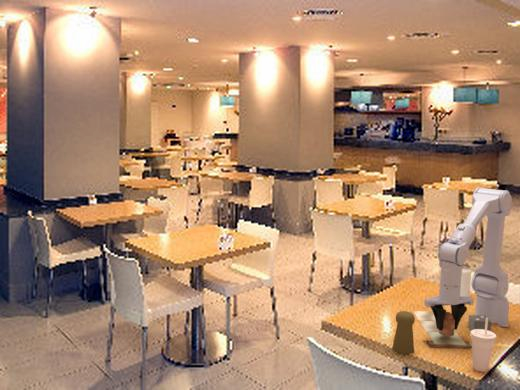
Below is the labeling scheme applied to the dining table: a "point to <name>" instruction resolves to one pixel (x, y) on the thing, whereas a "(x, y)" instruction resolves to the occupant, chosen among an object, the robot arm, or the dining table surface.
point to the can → (465, 281)
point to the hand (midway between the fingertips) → (446, 328)
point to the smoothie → (482, 347)
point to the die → (478, 322)
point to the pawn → (448, 325)
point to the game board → (437, 338)
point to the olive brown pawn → (404, 333)
